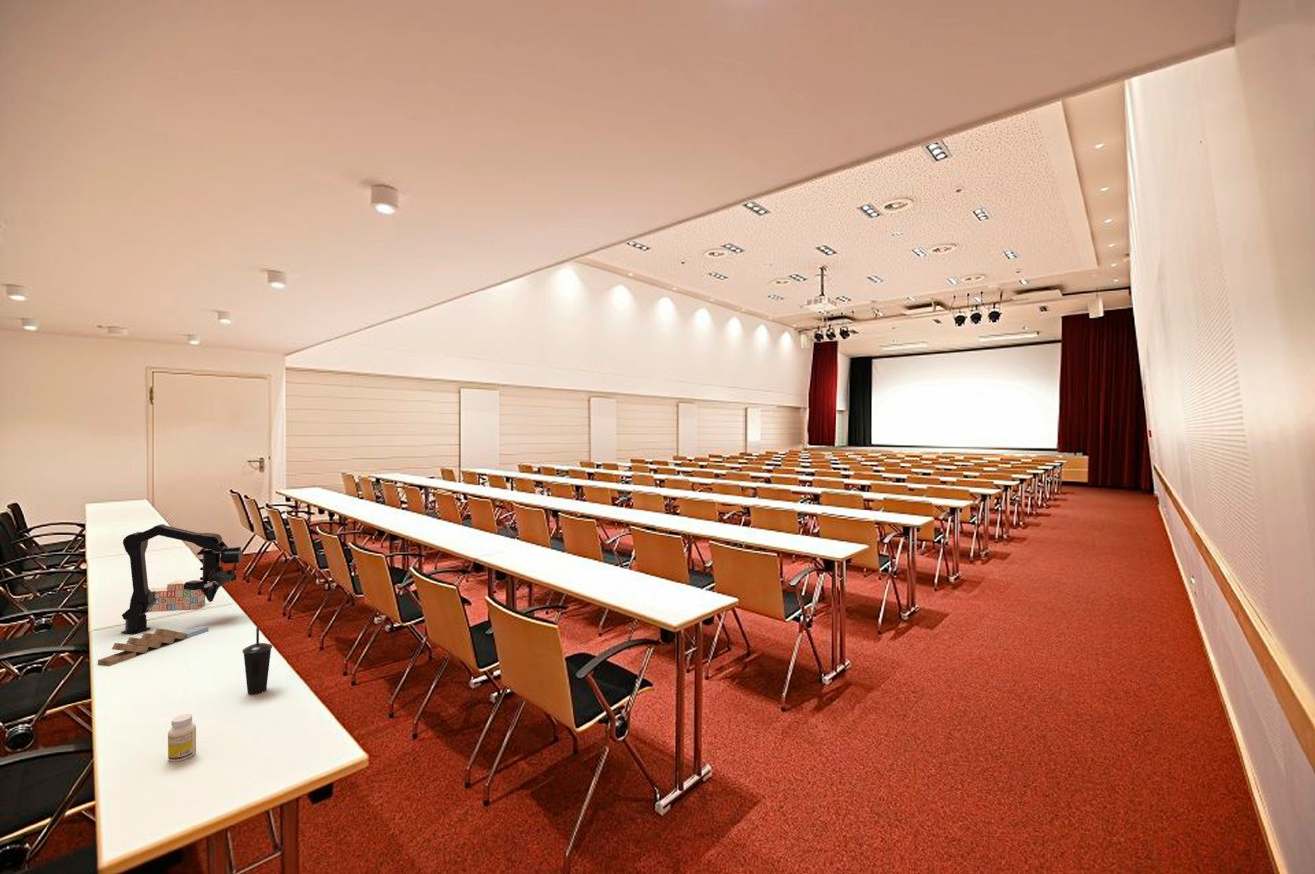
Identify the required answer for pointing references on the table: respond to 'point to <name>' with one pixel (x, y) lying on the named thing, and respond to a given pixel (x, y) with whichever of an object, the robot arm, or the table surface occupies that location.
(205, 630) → the slate domino
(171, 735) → the supplement bottle
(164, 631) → the domino
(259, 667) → the drinking cup
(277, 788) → the table surface
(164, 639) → the domino
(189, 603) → the stack of blocks
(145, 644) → the domino
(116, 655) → the domino
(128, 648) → the domino
